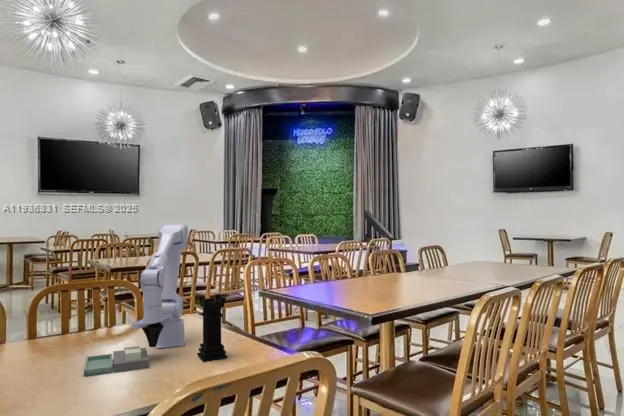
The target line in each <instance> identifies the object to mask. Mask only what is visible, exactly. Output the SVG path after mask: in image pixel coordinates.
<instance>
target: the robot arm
mask: <svg viewBox="0 0 624 416" xmlns="http://www.w3.org/2000/svg"><path fill="white" fill-rule="evenodd" d="M157 236H158V239H159V243H158V248H157V249H156V250H157V251H156V252H154V253H153V254H152V255H151V258H150V260H149V261H148V264H147V267H146V269H144V270H142V271H141V273H140V278H139V281H140V287H141V292H142V293H143V317H142V319H140V320H138V321H135V322H132V323H131V328H132V330H134V331H137V330H140V329H141V330H142V331H143V332H144V334H145V337H146V340H147V342H148V343H147V344H148V346H149V348H156V349H167V348H173V347H181V346H182V347H183V346H185V321H184V318H182V316H183V312H184V306H183V305H184V301H183V298H182V297H181V295H179V294H178V293H177V288H178V283H179V282H178V281H179V273H180V272H179V271H180V265H181V256H182V252H183V250H184V249H186V248H187V245H188V238H189V229H188V225H186V224H185V223H183V224H165V223H162V224H160V225H159V226H158V230H157Z"/></svg>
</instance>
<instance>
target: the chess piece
mask: <svg viewBox="0 0 624 416" xmlns="http://www.w3.org/2000/svg"><path fill="white" fill-rule="evenodd" d="M198 301H199V306H200V307H201V308H202V312H201V316H202V343H199V347H198V352H196V356H197V355H198V356H197V357H198V358H199V359H200V361H201V360H202V361H203V362H202V361H201V362H202V363H208V362H207V361H209V362H214V361H213V360H215V361H221V360H226V358H227V359H228V355H227V354H226V353H227V352H226V349H225V345H224V344H223V343H222V318H223V316H224V314H223V313H222V308H225V302H226V301H227V299H226V297H225V296H222V294H220V293H217V294H216V293H215V294H214V298H213V297H212V298H208V297H207V298H205V295H198ZM220 359H221V360H220Z"/></svg>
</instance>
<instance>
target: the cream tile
mask: <svg viewBox="0 0 624 416" xmlns="http://www.w3.org/2000/svg"><path fill="white" fill-rule="evenodd" d="M135 348H141V346H140V342H130V343H124V344H123V350H124V354H125V350H126V349H135Z"/></svg>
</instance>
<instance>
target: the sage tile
mask: <svg viewBox="0 0 624 416" xmlns="http://www.w3.org/2000/svg"><path fill="white" fill-rule="evenodd" d="M140 348H141V347H140ZM140 348H135V349H126V350H125V362H130V361H137V360H141V350H140Z"/></svg>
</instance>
